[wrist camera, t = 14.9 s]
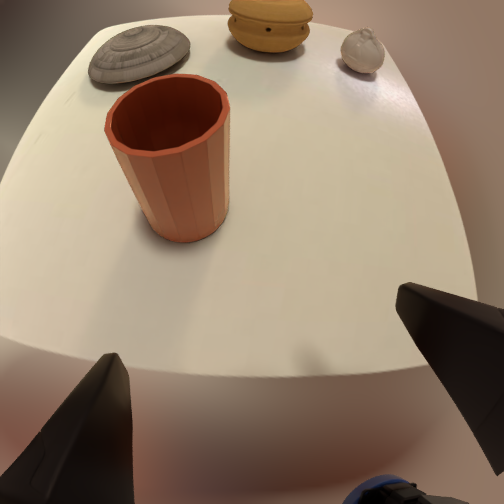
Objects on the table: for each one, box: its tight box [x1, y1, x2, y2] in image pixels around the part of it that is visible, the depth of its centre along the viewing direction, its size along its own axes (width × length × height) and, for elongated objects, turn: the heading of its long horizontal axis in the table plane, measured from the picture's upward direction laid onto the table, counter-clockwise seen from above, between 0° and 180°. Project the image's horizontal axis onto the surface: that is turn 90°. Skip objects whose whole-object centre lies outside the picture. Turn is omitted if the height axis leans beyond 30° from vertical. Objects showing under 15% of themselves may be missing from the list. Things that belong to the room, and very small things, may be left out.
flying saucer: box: [88, 25, 190, 84], centre depth 30 cm, size 15×15×6 cm
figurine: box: [341, 27, 385, 73], centre depth 31 cm, size 6×7×8 cm
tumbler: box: [104, 74, 230, 243], centre depth 20 cm, size 7×7×11 cm
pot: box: [228, 0, 313, 52], centre depth 31 cm, size 12×12×10 cm
